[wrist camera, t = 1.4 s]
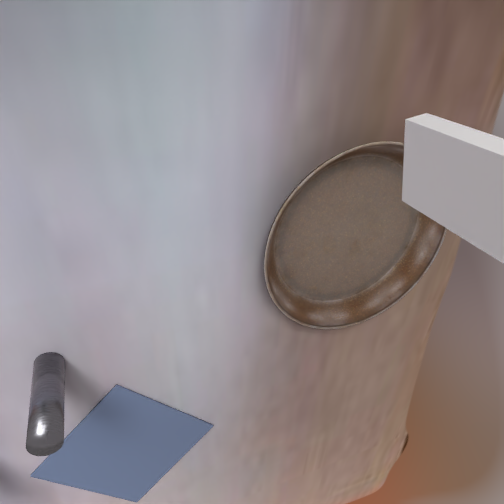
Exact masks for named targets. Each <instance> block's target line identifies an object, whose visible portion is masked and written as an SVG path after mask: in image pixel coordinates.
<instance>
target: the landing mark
mask: <svg viewBox="0 0 504 504" xmlns="http://www.w3.org/2000/svg"><path fill="white" fill-rule="evenodd" d="M212 427H213V425H212V424H210V423H207V422H205V421H203V420H200V419H198V418H195V417H193V416H191V415H188V414H186V413H184V412H181V411H179V410H176V409H174V408H172V407H169V406H167V405H164V404H162V403H160V402H157V401H155V400H153V399H150V398H148V397H145V396H143V395H141V394H138V393H136V392H133V391H131V390H129V389H126V388H124V387H122V386H119V385H117V384H116V385H115V387H114V388H113V389H112V390H111V391H110V392H109V393H108V394H107V395H106V396H105V397H104V398H103V399H102V400H101V401H100V402H99V403H98V404H97V406H96V407H95V408H94V409H93V410H92V411H91V412H90V413H89V414H88V415H87V416H86V417H85V418H84V419H83V420H82V421H81V422H80V424H79V425H78V426H77V427H76V428H75V429H74V430H73V431H72V432H71V433H70V434H69V435H68V436H67V437H66V438H65V439H64V443H63V446H62V447H61V448H60V449H59V450H58V451H57V452H55V453H53V454H50V455H49V456H48V457H47V458H46V459H45V460H44V462H43V463H42V464H41V465H40V466H39V467H38V468H37V469H36V470H35V471H34V472H33V473H32V474H31V477H34V478H38V479H42V480H47V481H51V482H55V483H59V484H63V485H67V486H71V487H75V488H80V489H84V490H88V491H92V492H96V493H100V494H104V495H109V496H113V497H117V498H121V499H125V500H129V501H133V502H138V501H139V500H140V499H141V498H142V497H143V496H144V495H145V494H146V493H147V492H148V491H149V490H150V489H151V488H152V487H153V486H154V485H155V484H156V483H157V482H158V481H159V480H160V479H161V478H162V477H163V476H164V475H165V474H166V473H167V472H168V471H169V470H170V469H171V468H172V467H173V466H174V465H175V464H176V463H177V462H178V461H179V460H180V459H181V458H182V457H183V456H184V455H185V454H186V453H187V452H188V451H189V450H190V449H191V448H192V447H193V446H194V445H195V444H196V443H197V442H198V441H199V440H200V439H201V438H202V437H203V436H204V435H205V434H206V433H207V432H208V431H209V430H210V429H211V428H212Z"/></svg>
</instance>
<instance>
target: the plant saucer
mask: <svg viewBox="0 0 504 504" xmlns="http://www.w3.org/2000/svg"><path fill="white" fill-rule="evenodd" d="M403 162H404V143H400V142H389V141H383V142H374V143H369V144H364V145H361V146H358V147H355V148H352V149H349V150H347V151H344V152H342V153H340V154H338V155H336V156H334V157H332V158H331V159H329V160H327V161H326V162H324V163H323V164H321V165H320V166H318V167H317V168H316V169H315V170H313V171H312V172H311V173H310V174H309V175H308V176H306V177H305V178H304V179H303V180H302V181H301V182H300V183H299V185H298V186H297V187H296V188H295V189H294V190H293V191H292V193H291V194H290V195H289V197H288V198H287V199H286V201H285V202H284V204H283V205H282V207H281V209H280V210H279V212H278V214H277V216H276V218H275V220H274V223H273V225H272V228H271V230H270V233H269V237H268V240H267V245H266V250H265V258H264V274H265V281H266V285H267V289H268V292H269V294H270V296H271V298H272V300H273V302H274V303H275V305H276V306H277V307H278V309H279V310H280V311H281V312H282V313H283V314H284V315H286V316H287V317H288V318H290V319H291V320H293V321H295V322H297V323H299V324H301V325H304V326H307V327H311V328H318V329H338V328H344V327H348V326H352V325H356V324H359V323H362V322H364V321H367V320H369V319H371V318H373V317H375V316H377V315H379V314H381V313H382V312H384V311H386V310H387V309H389V308H390V307H392V306H393V305H394V304H396V303H397V302H398V301H399V300H400V299H402V298H403V297H404V296H405V295H406V294H407V293H408V292H409V291H410V290H411V289H412V288H413V287H414V286H415V285H416V284H417V283H418V282H419V281H420V279H421V278H422V277H423V275H424V274H425V273H426V271H427V270H428V269H429V267H430V266H431V264H432V263H433V261H434V259H435V257H436V255H437V254H438V252H439V249H440V247H441V245H442V242H443V240H444V237H445V234H446V230H447V228H445V227H444V226H442V225H440V224H439V223H437V222H436V221H434V220H432V219H431V218H429V217H427V216H426V215H424V214H423V213H421V212H419V211H418V210H416V209H415V208H413V207H411V206H410V205H408V204H407V203H405V202H403V201H402V185H403Z"/></svg>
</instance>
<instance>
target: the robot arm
mask: <svg viewBox="0 0 504 504" xmlns="http://www.w3.org/2000/svg"><path fill="white" fill-rule="evenodd" d="M402 201H403V202H405V203H407V204H408V205H410V206H411V207H413V208H415V209H416V210H418V211H419V212H421V213H423V214H424V215H426V216H427V217H429V218H431V219H432V220H434V221H436V222H437V223H439V224H440V225H442V226H444V227H445V228H447V229H448V230H450V231H452V232H453V233H455V234H457V235H458V236H460V237H461V238H463V239H465V240H466V241H468V242H469V243H471V244H473V245H474V246H476V247H477V248H479V249H481V250H482V251H484V252H486V253H487V254H489V255H491V256H492V257H494V258H495V259H497V260H498V261H500V262H502V263H503V264H504V139H503V138H500V137H497V136H494V135H491V134H488V133H485V132H482V131H479V130H476V129H473V128H470V127H467V126H464V125H461V124H458V123H455V122H452V121H449V120H446V119H443V118H440V117H437V116H434V115H431V114H428V113H425V114H422V115H418V116H415V117H411V118H408V119H405V139H404V162H403V185H402Z"/></svg>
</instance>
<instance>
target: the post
mask: <svg viewBox="0 0 504 504" xmlns="http://www.w3.org/2000/svg"><path fill="white" fill-rule="evenodd" d="M64 384H65V360H64V358H63V357H62V356H61V355H60V354H58V353H53V352H49V353H44V354H42V355H40V356H38V357H37V358H36V359H35V361H34V367H33V377H32V387H31V398H30V408H29V418H28V429H27V439H26V449H27V451H28V452H29V453H30V454H32V455H36V456H46V455H50V454H53V453H55V452H57V451H58V450H59V449H60V448H61V447H62V446H63V443H64Z"/></svg>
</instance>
